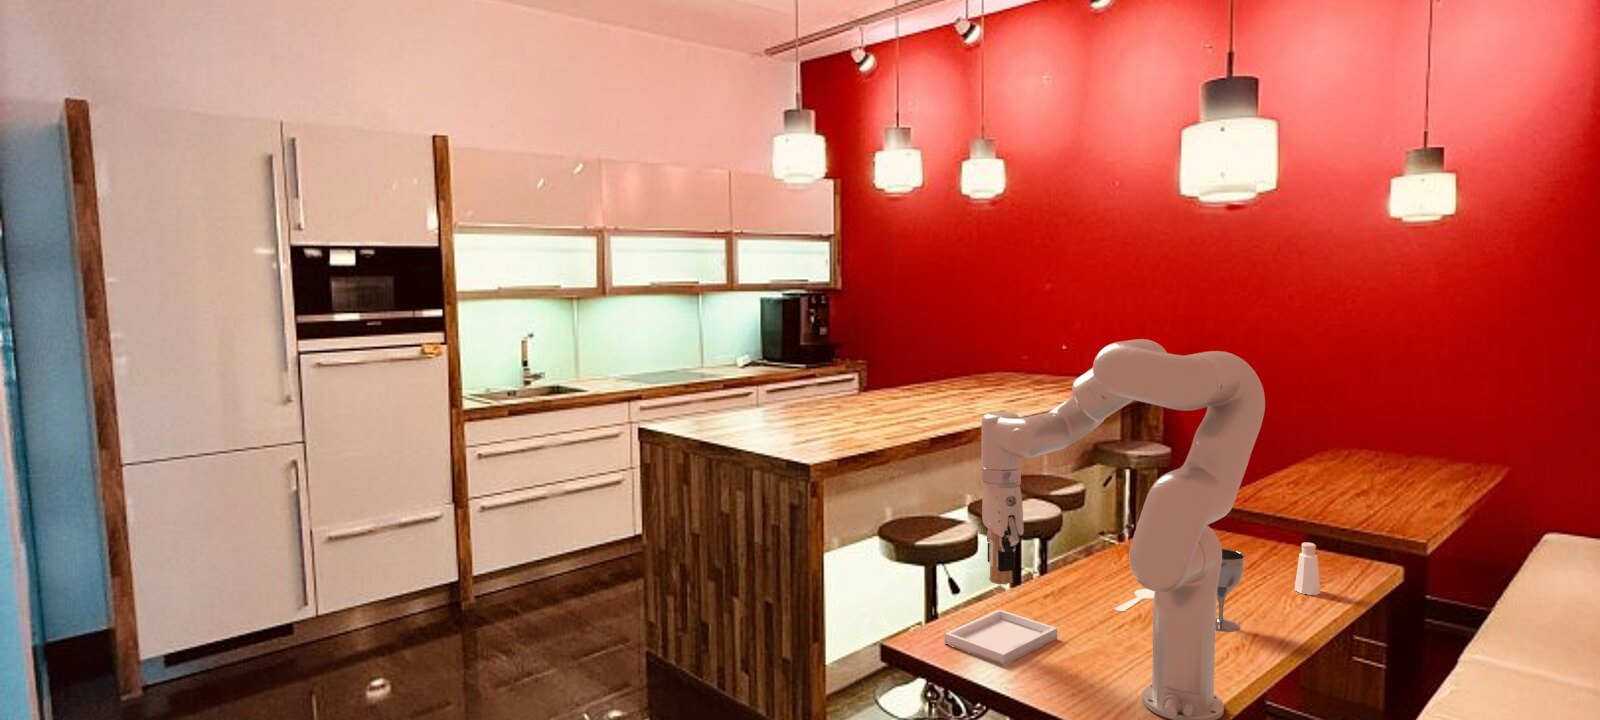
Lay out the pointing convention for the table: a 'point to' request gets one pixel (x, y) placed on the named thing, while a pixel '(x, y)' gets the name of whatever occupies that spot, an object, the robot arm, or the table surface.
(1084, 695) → the table surface
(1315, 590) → the salt shaker
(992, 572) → the sprinkles bottle
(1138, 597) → the spoon
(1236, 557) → the wine glass
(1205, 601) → the robot arm
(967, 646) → the tray
